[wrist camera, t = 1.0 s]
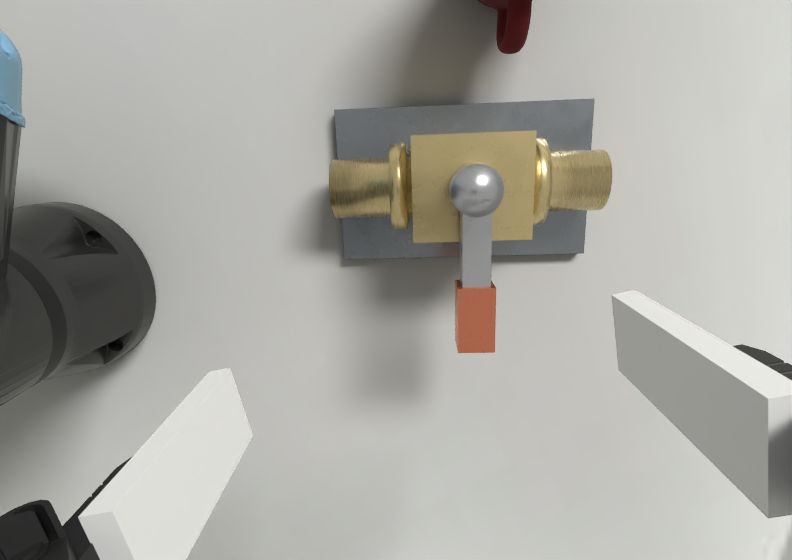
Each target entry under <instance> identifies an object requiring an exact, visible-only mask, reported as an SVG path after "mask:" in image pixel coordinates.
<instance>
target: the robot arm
mask: <svg viewBox="0 0 792 560" xmlns="http://www.w3.org/2000/svg"><path fill="white" fill-rule="evenodd" d="M21 97H22V61H21V57H20V55H19V52H18V50H17V48H16V47H15V45H14V44H13V42H12V41H11V40H10V39H9V37H8V36H7V35H6V34H5V33H4V32H2V31H1V30H0V406H1V405H2V404H4V403H5V402H7V401H9V400H10V399H12V398H14V397H15V396H17V395H19V394H20V393H22V392H24V391H25V390H27V389H28V388H30V387H32V386H33V385H35V384H37V383H38V382H40V381H42V380H47V379H52V378H57V377H62V376H67V375H72V374H77V373H82V372H87V371H91V370H95V369H98V368H101V367H103V366H106V365H108V364H110V363H112V362H113V361H115V360H117V359H118V358H120V357H121V356H123V355H124V354H126V353H127V352H129V351H130V350H131V349H133V348H134V347H135V346H136V345H137V344H138V343H139V342H140V341H141V340H142V338H143V337H144V336H145V334H146V333H147V331H148V329H149V327H150V325H151V322H152V319H153V315H154V311H155V302H156V295H155V285H154V280H153V276H152V273H151V270H150V267H149V265H148V263H147V260H146V259H145V257H144V255H143V253H142V252H141V250H140V248H139V247H138V246H137V244H136V243H135V242H134V240H133V239H132V238H131V237H130V236H129V235H128V234H127V233H126V232H125V231H124V230H123V229H122V228H121V227H120V226H119V225H117V224H116V223H115V222H113V221H112V220H111V219H109V218H108V217H106V216H104V215H102V214H101V213H99V212H97V211H94V210H92V209H90V208H87V207H84V206H81V205H76V204H71V203H62V202H53V203H43V204H35V205H28V206H23V207H19V208H16V209H13V204H14V194H15V185H16V175H17V165H18V156H19V146H20V136H21V127H25V118H24V117H23V116H22V101H21ZM612 305H613V316H614V327H615V338H616V348H617V359H618V370H619V371H620V372H621V373H622V374H623V375H624V376H625V377H626V378H627V379H628V380H629V381H630V382H631V383H632V384H633V385H634V386H635V387H636V388H637V389H638V390H639V391H640V392H641V393H642V394H643V395H644V396H645V397H646V398H647V399H648V400H649V401H650V402H651V403H652V404H653V405H654V406H655V407H656V408H657V409H658V410H659V411H660V412H661V413H662V414H663V415H664V416H665V417H666V418H668V419H669V420H670V421H671V422H672V423H673V424H674V425H675V426H676V427H677V428H678V429H679V430H680V431H681V432H682V433H683V434H684V435H685V436H686V437H687V438H688V439H689V440H690V441H691V442H692V443H693V444H694V445H695V446H696V447H697V448H698V449H699V450H700V451H701V452H702V453H703V454H704V455H705V456H706V457H707V458H708V459H709V460H710V461H711V462H712V463H713V464H714V465H715V466H716V467H717V468H718V469H719V470H720V471H721V472H722V473H723V474H724V475H725V476H726V477H727V478H728V479H729V480H730V481H731V482H732V483H733V484H734V485H735V486H736V487H737V488H738V489H739V490H740V491H741V492H742V493H743V494H744V495H745V496H746V497H747V498H748V499H749V500H750V501H751V502H752V503H753V504H754V505H755V506H756V507H757V508H758V509H759V510H760V511H761V512H762V513H763V514H764V515H765V516H766V517H767V518H773V517H780V516H786V515H792V365H790V364H788V363H784V361H783V360H781V359H779V358H777V357H775V356H773V355H772V354H770V353H768V352H766V351H763V350H759V349H756V348H752V347H749V346H745V345H737V346H731V345H730V344H728V343H726V342H724V341H723V340H721V339H719V338H717V337H716V336H714V335H712V334H710V333H709V332H707V331H705V330H704V329H702V328H700V327H698V326H697V325H695V324H693V323H691V322H690V321H688V320H686V319H684V318H683V317H681V316H679V315H677V314H676V313H674V312H672V311H671V310H669V309H667V308H665V307H664V306H662V305H660V304H658V303H657V302H655V301H653V300H651V299H650V298H648V297H646V296H645V295H643V294H641V293H639V292H638V291H636V290H633V291H628V292H623V293H618V294H612ZM252 436H253V435H252V432H251V429H250V426H249V423H248V420H247V417H246V414H245V411H244V408H243V405H242V402H241V399H240V396H239V393H238V390H237V387H236V384H235V381H234V378H233V375H232V372H231V369H230V368H225V369H220V370H215V371H210V372H208V374H207V375H206V376H205V377H204V378H203V379H202V380H201V381H200V382H199V384H198V385H197V386H196V387H195V388H194V389H193V390H192V391H191V392H190V393H189V395H188V396H187V397H186V398H185V399H184V400H183V401H182V402H181V403H180V405H179V406H178V407H177V408H176V409H175V410H174V411H173V412H172V413H171V415H170V416H169V417H168V418H167V419H166V420H165V421H164V422H163V423H162V425H161V426H160V427H159V428H158V429H157V430H156V431H155V432H154V433H153V435H152V436H151V437H150V438H149V439H148V440H147V441H146V442H145V443H144V445H143V446H142V447H141V448H140V449H139V450H138V451H137V452H136V453H135V454H134V456H132V457H131V458H129V459H128V460H127V461H125V462H124V463H123V464H121V465H120V466H119V467H117V468H116V469H115V470H114V471H113V472H112V473H111V474H110V475H109V476H108V478H107V479H106V480H105V481H104V482H103V485H100V486H99V487H98V488H97V489H96V491H95V492H94V493H93V494H92V497H89V498H88V499H87V500H86V501H85V502H84V504H83V505H82V506H81V507H80V508H79V509H78V510H77V511H76V512H75V513H74V514H73V516H72V517H71V518H70V519H69V520H68V521H67V522H66V523H65V524H64V525H63V526H62V525H61V523H60V521H59V519H58V517H57V515H56V513H55V511H54V509H53V507H52V505H51V503H50V502H49V501H48V500H38V501H34V502H30V503H27V504H24V505H22V506H20V507H17V508H15V509H13V510H11V511H9V512H8V513H6V514H4V515H2V516H0V560H186V559H187V557H188V555H189V553H190V551H191V550H192V548H193V546H194V544H195V542H196V540H197V538H198V537H199V535H200V533H201V531H202V529H203V527H204V525H205V524H206V522H207V520H208V518H209V516H210V514H211V512H212V511H213V509H214V507H215V505H216V503H217V501H218V499H219V498H220V496H221V494H222V492H223V490H224V488H225V486H226V485H227V483H228V481H229V479H230V477H231V475H232V473H233V472H234V470H235V468H236V466H237V464H238V462H239V460H240V459H241V457H242V455H243V453H244V451H245V449H246V447H247V446H248V444H249V442H250V440H251V438H252Z"/></svg>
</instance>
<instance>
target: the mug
mask: <svg viewBox="0 0 792 560" xmlns="http://www.w3.org/2000/svg"><path fill="white" fill-rule="evenodd" d="M479 1H480V2H482V3H483V4H485V5H487V6H489V7H492V8H494V9H496V10H498V19H497V45H498V49H499V50H500V51H501V52H502V53H505V54H513V53H516V52H518V51H520V50H521V48H522V47H523V46H524V44H525V41H526V38H527V34H528V30H529V24H530V17H531V4H532V0H479Z"/></svg>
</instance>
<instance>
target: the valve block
mask: <svg viewBox="0 0 792 560" xmlns="http://www.w3.org/2000/svg"><path fill="white" fill-rule="evenodd" d="M593 112H594V99H575V100H552V101H529V102H505V103H482V104H459V105H436V106H413V107H390V108H367V109H344V110H334V113H335V128H336V143H337V158H338V160H332V161H331V164H330V170H329V191H330V201H331V207H332V211H333V215H334V217H335V218H341V219H342V234H343V249H344V260H345V259H383V258H421V257H459V256H460V211H459V210H458V209H457V208H456V207H455V205H454V204H453V203H452V201H451V199H450V197H449V191H448V187H449V182H450V179H451V177H452V176H453V174H454V173H455V172H456V171H457V170H458V169H459V168H460V167H462V166H464V165H467V164H484V165H488V166H490V167H492V168H493V169H495V170H496V171H497V172H498V173H499V175H500V176H501V178H502V180H503V184H504V195H503V199H502V201H501V203H500V205H499V206H498V207H497V209H496V210H495V211H493V212H492V247H491V256H497V255H535V254H573V253H584V242H585V227H586V213H587V210H601V209H602V208H603V207H604V206H605V205H606V203H607V201H608V198H609V195H610V191H611V184H612V167H611V161H610V158H609V155H608V154H607V152H606V151H605V150H591V141H592V126H593Z"/></svg>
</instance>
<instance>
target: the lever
mask: <svg viewBox="0 0 792 560" xmlns="http://www.w3.org/2000/svg"><path fill="white" fill-rule="evenodd" d="M448 191H449V197H450V199H451V201H452V203H453V204H454V205H455V207H456V208H457V209H458V210H459V211H460V280H455V341H456V345H457V350H458V353H488V352H495V316H496V287H495V286H494V284H493V282H492V281H491V247H492V212H493V211H495V210H496V209H497V207H498V206H499V205H500V203H501V201H502V199H503V195H504V184H503V180H502V178H501V176H500V175H499V173H498V172H497V171H496V170H495V169H493V168H492V167H490V166H488V165H484V164H467V165H464V166H462V167H460V168H459V169H458V170H457V171H456V172H455V173H454V174H453V176H452V177H451V179H450V182H449V187H448Z"/></svg>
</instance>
